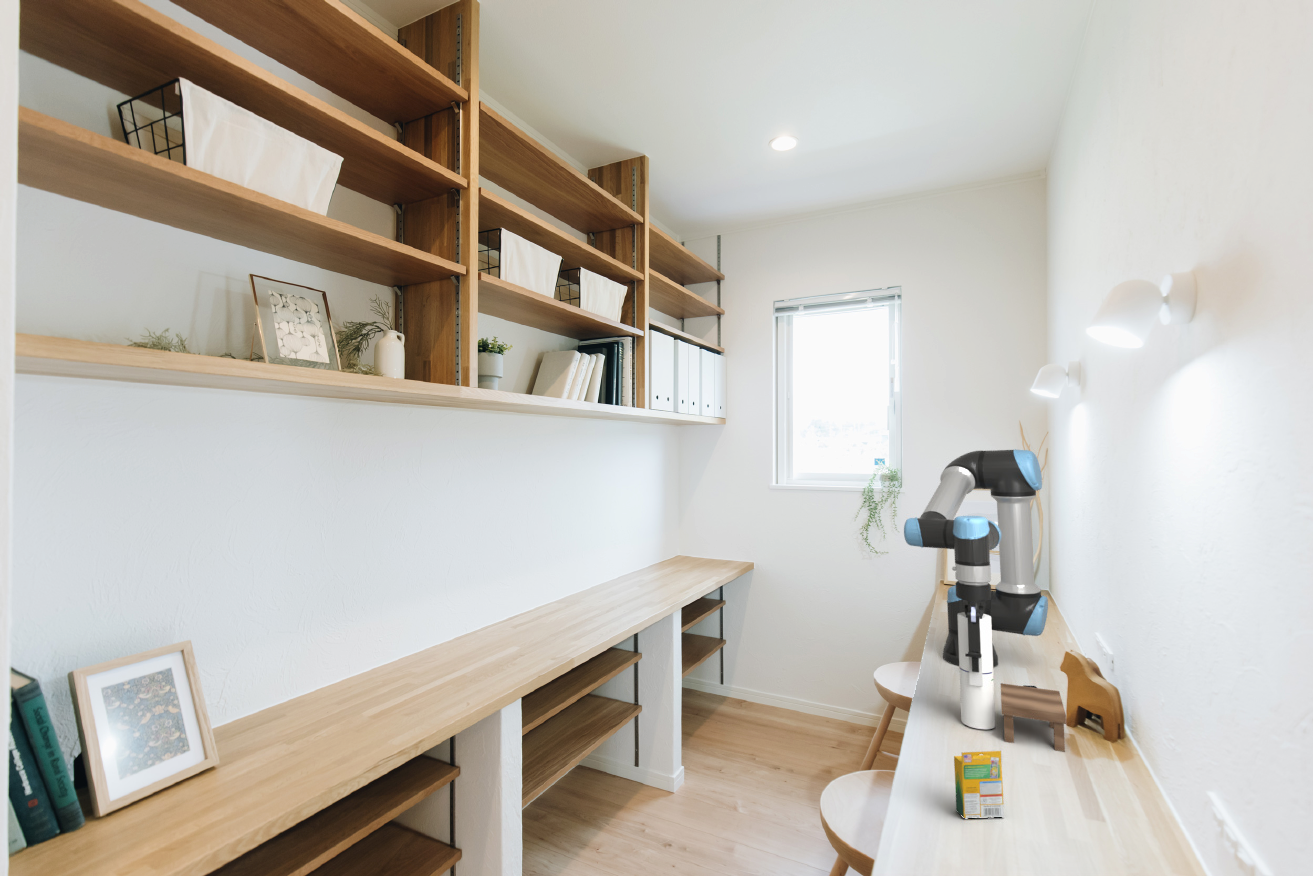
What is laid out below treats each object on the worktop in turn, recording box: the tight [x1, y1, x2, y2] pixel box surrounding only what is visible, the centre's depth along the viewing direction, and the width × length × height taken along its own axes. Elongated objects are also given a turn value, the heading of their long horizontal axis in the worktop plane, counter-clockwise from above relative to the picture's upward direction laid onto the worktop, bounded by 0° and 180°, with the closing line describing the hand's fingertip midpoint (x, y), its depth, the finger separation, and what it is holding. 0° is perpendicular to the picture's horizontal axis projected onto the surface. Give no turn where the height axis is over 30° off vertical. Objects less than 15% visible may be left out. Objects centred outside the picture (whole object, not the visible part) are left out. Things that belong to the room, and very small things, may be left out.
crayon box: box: [953, 750, 1005, 818], centre depth 111 cm, size 7×3×12 cm, turn 92°
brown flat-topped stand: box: [1000, 682, 1067, 753], centre depth 142 cm, size 15×12×8 cm
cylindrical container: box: [958, 612, 996, 730], centre depth 148 cm, size 7×7×25 cm
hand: (976, 679), depth 148 cm, fingers closed on cylindrical container, 7 cm apart
